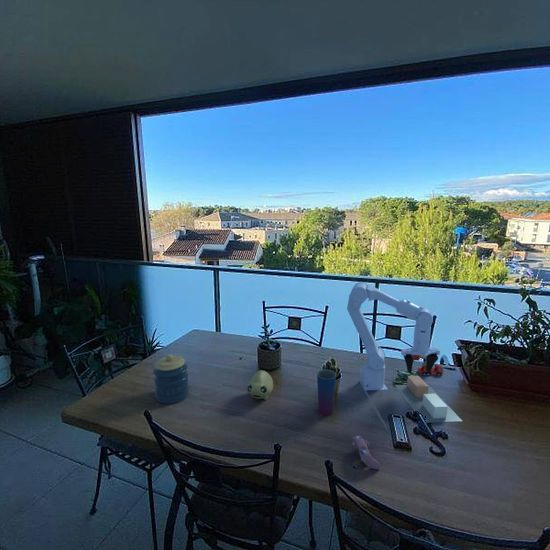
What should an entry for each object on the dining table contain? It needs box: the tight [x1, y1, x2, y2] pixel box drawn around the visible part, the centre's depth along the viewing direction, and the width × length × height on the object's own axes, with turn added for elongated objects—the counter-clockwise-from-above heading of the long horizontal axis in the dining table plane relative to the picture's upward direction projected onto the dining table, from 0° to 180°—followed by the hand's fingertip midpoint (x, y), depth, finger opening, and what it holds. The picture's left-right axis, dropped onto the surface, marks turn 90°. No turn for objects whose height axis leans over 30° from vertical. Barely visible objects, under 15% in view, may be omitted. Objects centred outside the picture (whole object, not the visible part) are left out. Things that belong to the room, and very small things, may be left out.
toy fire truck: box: [412, 355, 444, 376], centre depth 144 cm, size 3×14×10 cm, turn 84°
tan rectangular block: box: [406, 375, 429, 397], centre depth 130 cm, size 4×8×4 cm, turn 3°
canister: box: [152, 353, 190, 405], centre depth 128 cm, size 13×13×18 cm
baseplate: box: [394, 383, 463, 424], centre depth 124 cm, size 14×24×1 cm, turn 3°
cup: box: [316, 369, 337, 417], centre depth 117 cm, size 7×7×15 cm
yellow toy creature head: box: [247, 369, 274, 401], centre depth 127 cm, size 10×12×11 cm
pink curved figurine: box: [352, 435, 381, 470], centre depth 96 cm, size 10×5×7 cm, turn 5°
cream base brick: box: [422, 394, 448, 418], centre depth 117 cm, size 4×8×4 cm, turn 3°
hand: (418, 371), depth 129 cm, fingers open, 7 cm apart
